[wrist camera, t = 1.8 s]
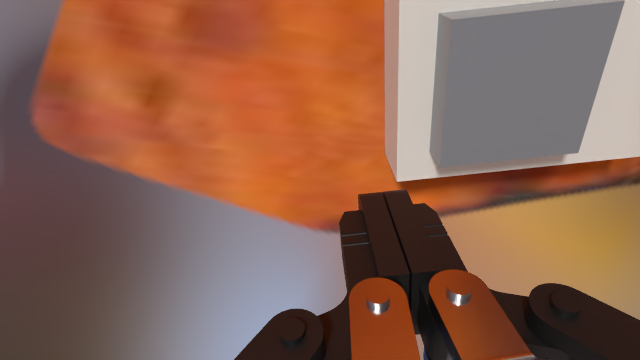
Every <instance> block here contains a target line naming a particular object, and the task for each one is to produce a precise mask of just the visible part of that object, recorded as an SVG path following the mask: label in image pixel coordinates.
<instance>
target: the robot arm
mask: <svg viewBox="0 0 640 360" xmlns="http://www.w3.org/2000/svg"><path fill="white" fill-rule="evenodd" d="M358 204H359V210H357V211H348V212H344V214H343V216H342V218H341V220H340V222H339V225H340V237H341V248H342V257H343V258H342V259H343V266H344V273H345V280H346V287H347V295H346V297H345V298H344V300H343V301H342V303H341V304H339V305H338V306H337V307H336V308H334V309H332V310H330V311H328V312H326V313H323V314H321V315H319V316H316V315H315V314H313V313H312V312H310V311H307V310H304V309H290V310H286V311H283V312H281V313H279V314H277V315H276V316H274V317H273V318H272V319H271V320H270V321H269V322H268V323H267V324H266V325H265V326H264V327H263V329H262V330H261V331H260V332H259V333H258V334H257V335H256V336H255V337H254V338H253V339H252V341H251V342H250V343H249V344H248V345H247V346H246V347H245V348H244V349H243V350H242V351H241V353H240V354H239V355H238V356H237V357H236V358H235V359H234V360H420V356H419V351H418V346H417V341H416V337H415V335H416V334H421V337H422V341H423V344H424V354H423V357H424V360H640V320H638V319H636V318H634V317H632V316H630V315H628V314H626V313H624V312H622V311H620V310H618V309H616V308H613V307H611V306H609V305H607V304H605V303H603V302H601V301H599V300H597V299H595V298H593V297H591V296H589V295H587V294H585V293H582V292H581V291H578V290H576V289H574V288H572V287H569V286H566V285H561V284H555V283H547V284H542V285H538V286H537V287H535V288H534V289H533V290H532V291H531V293H530V295H529V297H527V296H520V295H514V294H507V293H502V292H497V291H494V290H491V289H489V288H488V287H487V286H486V284H485V283H484V282H483V281H482V280H481V279H480V278H478V277H477V276H475V275H473V274H471V273H468V271H467V270H466V268H465V266H464V264H463V262H462V260H461V258H460V256H459V254H458V252H457V251H456V249H455V247H454V245H453V243H452V241H451V239H450V237H449V236H448V235H447V232H446V230H445V228H444V226H443V225H442V222H441V220H440V218H439V216H438V214H437V212H435V211H434V210H433V209H431V208H430V207H429V206H428V205H426V204H425V203H422V204H413V203H412V201H411V199H410V196H409V194H408V192H407V190H406V189H405V190H396V191H386V192H378V193H368V194H359V195H358Z"/></svg>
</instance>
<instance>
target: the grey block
mask: <svg viewBox="0 0 640 360" xmlns="http://www.w3.org/2000/svg"><path fill="white" fill-rule="evenodd" d="M624 2H625V1H624V0H553V1H544V2H535V3H526V4H517V5H508V6H499V7H490V8H481V9H472V10H462V11H453V12H444V13H439V16H438V31H437V46H436V61H435V76H434V91H433V105H432V120H431V135H430V150H429V152H430V153H431V155H432V156H433V158H434V160H435V161H436V163H437V164H438V166H439V168H440V167H449V166H459V165H469V164H478V163H488V162H497V161H507V160H516V159H526V158H536V157H545V156H555V155H564V154H574V153H579V149H580V146H581V143H582V140H583V136H584V133H585V130H586V126H587V123H588V120H589V117H590V113H591V110H592V107H593V104H594V100H595V97H596V94H597V91H598V87H599V84H600V81H601V77H602V74H603V71H604V68H605V64H606V61H607V58H608V55H609V51H610V48H611V45H612V42H613V38H614V35H615V32H616V28H617V25H618V22H619V19H620V15H621V12H622V9H623V6H624Z"/></svg>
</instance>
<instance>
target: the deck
mask: <svg viewBox="0 0 640 360" xmlns="http://www.w3.org/2000/svg"><path fill="white" fill-rule="evenodd" d="M544 1H553V0H384V25H385V154H386V157H387V159H388V162H389V164H390V167H391V169H392V172H393V174H394V176H395V179H396V181H397V182H400V181H409V180H419V179H429V178H438V177H448V176H457V175H467V174H477V173H486V172H496V171H505V170H515V169H525V168H534V167H544V166H553V165H563V164H573V163H582V162H592V161H601V160H611V159H621V158H630V157H640V0H624V1H625V2H624V6H623V9H622V12H621V15H620V19H619V22H618V25H617V28H616V32H615V35H614V38H613V42H612V45H611V48H610V51H609V55H608V58H607V61H606V64H605V68H604V71H603V74H602V77H601V81H600V84H599V87H598V91H597V94H596V97H595V100H594V104H593V107H592V110H591V113H590V117H589V120H588V123H587V126H586V130H585V133H584V136H583V140H582V143H581V146H580V149H579V153H574V154H564V155H555V156H545V157H536V158H526V159H516V160H507V161H497V162H488V163H478V164H469V165H459V166H449V167H440V168H439V166H438V164H437V163H436V161H435V160H434V158H433V156H432V155H431V153H430V152H429V150H430V135H431V120H432V105H433V91H434V76H435V61H436V46H437V31H438V16H439V13H444V12H453V11H462V10H472V9H481V8H490V7H499V6H508V5H517V4H526V3H535V2H544Z"/></svg>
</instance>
